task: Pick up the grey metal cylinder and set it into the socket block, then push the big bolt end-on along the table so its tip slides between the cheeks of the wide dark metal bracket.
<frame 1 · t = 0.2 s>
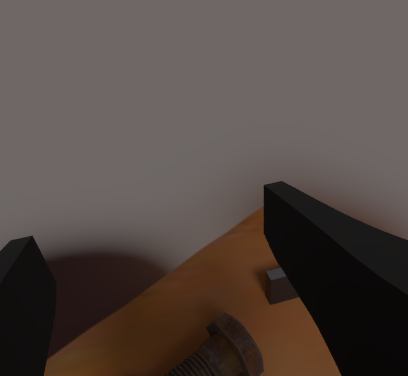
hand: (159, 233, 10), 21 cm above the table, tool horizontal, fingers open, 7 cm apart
mount bracket: (344, 360, 28), on the table
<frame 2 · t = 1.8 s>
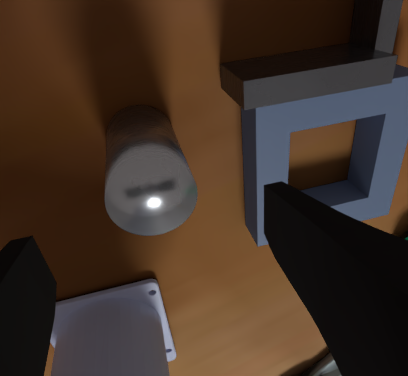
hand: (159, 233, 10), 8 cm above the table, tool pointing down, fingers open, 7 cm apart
socket: (313, 151, 20), on the table
salad plate: (352, 367, 38), on the table
grey metal cylinder: (140, 136, 17), on the table
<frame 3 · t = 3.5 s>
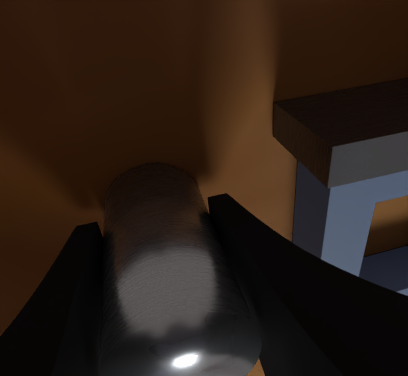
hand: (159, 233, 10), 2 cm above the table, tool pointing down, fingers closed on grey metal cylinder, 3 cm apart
socket: (385, 211, 15), on the table
grey metal cylinder: (154, 205, 12), on the table, touching gripper
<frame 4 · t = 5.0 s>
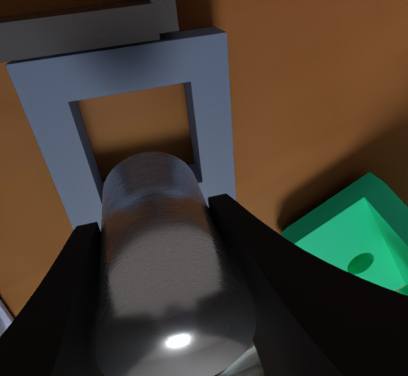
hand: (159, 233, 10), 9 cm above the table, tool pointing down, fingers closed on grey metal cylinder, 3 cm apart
socket: (139, 129, 18), on the table
salad plate: (269, 370, 36), on the table
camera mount: (339, 239, 27), on the table
grey metal cylinder: (151, 194, 12), point 7 cm above the table, touching gripper
when the fingers open (3 cm above the table, at t = 6.8 s): grey metal cylinder drops 1 cm, resting in socket.
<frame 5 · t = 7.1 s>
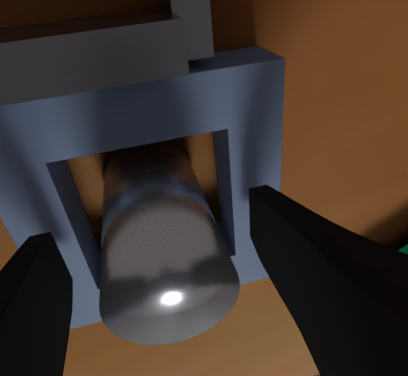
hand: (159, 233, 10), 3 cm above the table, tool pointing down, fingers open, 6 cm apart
socket: (150, 184, 13), on the table
grey metal cylinder: (149, 178, 13), resting in socket
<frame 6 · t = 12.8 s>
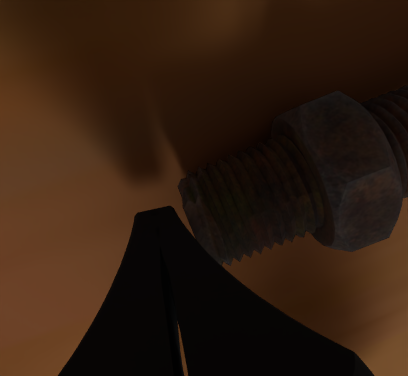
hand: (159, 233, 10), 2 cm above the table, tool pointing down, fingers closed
bolt: (366, 106, 12), on the table, touching gripper
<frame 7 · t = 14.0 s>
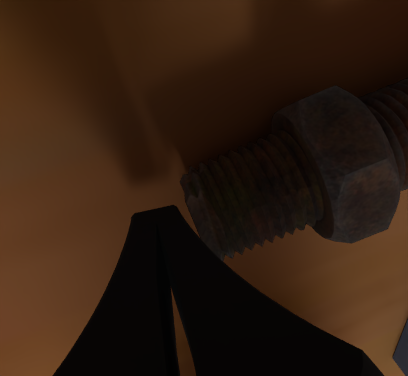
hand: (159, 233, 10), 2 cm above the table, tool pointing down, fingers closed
bolt: (365, 101, 12), on the table
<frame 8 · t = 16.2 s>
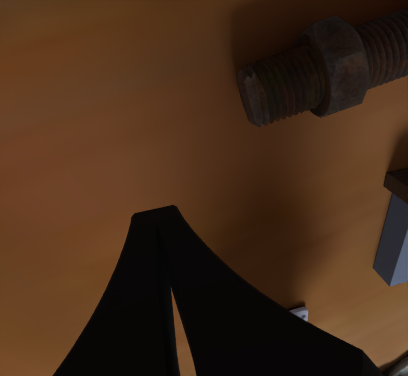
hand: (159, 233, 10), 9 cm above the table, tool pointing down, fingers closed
bolt: (352, 41, 19), on the table
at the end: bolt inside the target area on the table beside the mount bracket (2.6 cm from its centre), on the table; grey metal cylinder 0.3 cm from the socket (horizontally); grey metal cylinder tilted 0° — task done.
